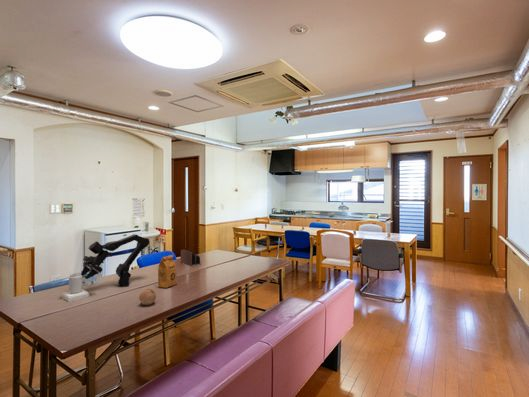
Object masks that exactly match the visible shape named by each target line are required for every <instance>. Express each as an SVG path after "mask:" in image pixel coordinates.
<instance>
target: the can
mask: <svg viewBox="0 0 529 397" xmlns="http://www.w3.org/2000/svg"><path fill="white" fill-rule="evenodd" d="M82 289H83V285H82V275H81V272H76V273H75V272H74V273H70V274H69V277H68V292H69V293H71V294H77V293H80V292H81V291H82Z"/></svg>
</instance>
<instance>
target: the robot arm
mask: <svg viewBox="0 0 529 397" xmlns="http://www.w3.org/2000/svg"><path fill="white" fill-rule="evenodd" d="M134 241H135V242H136V246H135V248H134V249H133V250H132V252H131V253H130V254H129V255H128V257H127V258H126V259H125V261H124V262H123V263H119V265H118V266H117V267H116V269H115V274H116V275H117V276H118V277H119V279H118V287H120V288H122V287H129V286H130V285H131V284H130V278H131V276H132V274H131V273H130V272H129V271H130V268H131V265H132V264H133V263H134V261H135V260H136V259H137V257H138V256H139V255H140V253H141V252H142V251H143V250H144V249H146V248H147V247H148V246H149V245H150V243H151V242H150V239H149V237H142V236H141V235H139V234H134V233H133V234H131V235H129V236H127V237H123V238H121V239H119V240H118V239H117V240H114V241H113V240H112V241H109V242H106V243H105V244H102V245H101V243H100V242H99V241H97V240H96V241H94V242H93V243H92V244H90V245H89V246H88V250H89V251H90V252H92V253H93V254H94V255H95V256H92V255H90V256H87V255H84V256H83V259H82V261H83V263H82V267H83V269H82V270H81V271H82V272H81V271H80V273H81V275H82V276H83V275H85V274H86V273H88V272H89V271H90V272H89V273H88V275H87V276H86V278H85V279H88V278H90V277H92V276H94V275H96V274H98V273H99V274H100V273H101V272H103V268H102V267H101V264H104V262H105V260H106V259H107V258H108V257H112V256H113V254H112V252H114V251H116V250H118V249H119V248H120V247H121V246H122V247H123V246H124V245H126V244H129V243H131V242H134Z"/></svg>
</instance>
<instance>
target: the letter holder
mask: <svg viewBox="0 0 529 397" xmlns="http://www.w3.org/2000/svg"><path fill="white" fill-rule="evenodd" d="M182 263H184V264H183V265H185V264H187V265H186V266H188V265H190V266H189V267H194V266H193V265H196V266H199V265H198V264H200V265H201V256H200V255H198V254H196V253H193V252H192V251H190V250H188V249H181V250H180V264H182Z"/></svg>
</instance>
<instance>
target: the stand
mask: <svg viewBox="0 0 529 397" xmlns="http://www.w3.org/2000/svg"><path fill="white" fill-rule="evenodd" d="M89 297H90V293H89V292H88V291H87V290H85V289H84V288H82V291H81V292H80V293H77V294H71V293H69V291H65V292H62V294H61V298H62V299H63V300H65V301H66V302H73V301H77V300H80V299H81V300H82V299H85V298H89Z"/></svg>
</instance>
